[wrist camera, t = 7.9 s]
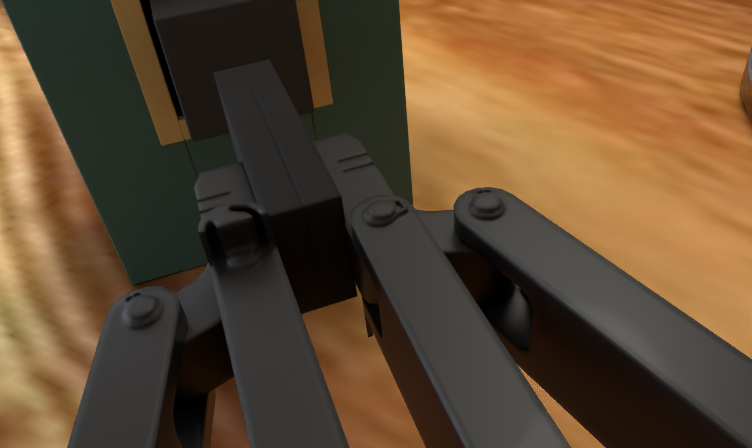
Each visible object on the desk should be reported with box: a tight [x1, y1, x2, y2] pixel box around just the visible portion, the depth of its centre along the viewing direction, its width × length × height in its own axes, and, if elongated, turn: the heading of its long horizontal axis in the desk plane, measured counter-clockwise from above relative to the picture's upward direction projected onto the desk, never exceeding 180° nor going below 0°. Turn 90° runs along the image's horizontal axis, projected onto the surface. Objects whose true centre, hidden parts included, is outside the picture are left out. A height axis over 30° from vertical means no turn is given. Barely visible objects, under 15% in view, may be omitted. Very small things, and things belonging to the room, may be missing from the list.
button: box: [150, 0, 314, 142], centre depth 22 cm, size 5×4×4 cm
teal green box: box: [1, 0, 413, 285], centre depth 25 cm, size 7×12×14 cm, turn 109°
